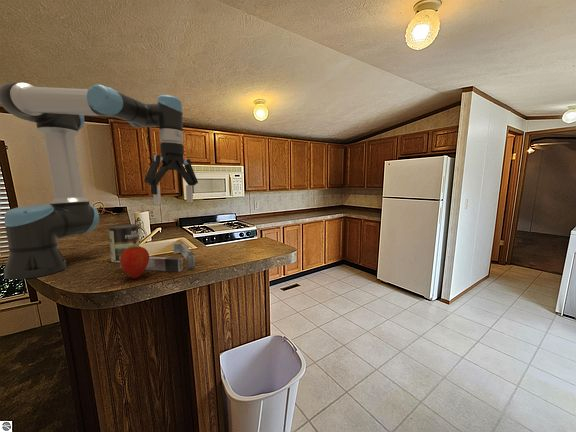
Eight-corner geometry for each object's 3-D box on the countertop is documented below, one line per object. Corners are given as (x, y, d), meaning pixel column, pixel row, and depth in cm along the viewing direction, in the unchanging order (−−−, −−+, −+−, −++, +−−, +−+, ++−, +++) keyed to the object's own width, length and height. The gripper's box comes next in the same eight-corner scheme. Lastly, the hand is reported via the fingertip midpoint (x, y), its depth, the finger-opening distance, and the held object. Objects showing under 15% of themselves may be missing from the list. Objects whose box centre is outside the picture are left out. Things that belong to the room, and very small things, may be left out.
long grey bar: (195, 268, 90) (195, 255, 90) (189, 272, 86) (188, 259, 85) (129, 264, 93) (128, 252, 92) (120, 268, 89) (119, 255, 88)
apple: (153, 278, 80) (151, 247, 79) (123, 284, 75) (120, 251, 73) (147, 271, 87) (145, 242, 85) (119, 276, 81) (117, 245, 80)
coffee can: (146, 256, 104) (144, 224, 102) (125, 263, 94) (123, 228, 92) (126, 254, 106) (123, 223, 104) (104, 261, 96) (101, 227, 94)
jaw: (195, 265, 93) (194, 254, 92) (183, 267, 90) (182, 256, 90) (183, 251, 112) (183, 242, 111) (173, 252, 109) (173, 243, 109)
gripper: (144, 135, 71) (148, 206, 74) (206, 148, 94) (207, 201, 96) (129, 137, 75) (133, 204, 77) (192, 149, 97) (194, 200, 100)
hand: (174, 203), depth 87 cm, fingers open, 13 cm apart
